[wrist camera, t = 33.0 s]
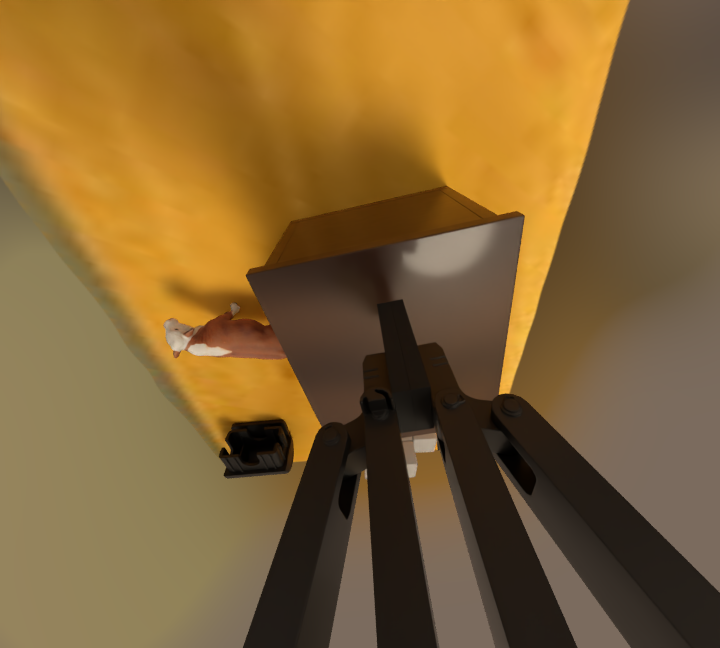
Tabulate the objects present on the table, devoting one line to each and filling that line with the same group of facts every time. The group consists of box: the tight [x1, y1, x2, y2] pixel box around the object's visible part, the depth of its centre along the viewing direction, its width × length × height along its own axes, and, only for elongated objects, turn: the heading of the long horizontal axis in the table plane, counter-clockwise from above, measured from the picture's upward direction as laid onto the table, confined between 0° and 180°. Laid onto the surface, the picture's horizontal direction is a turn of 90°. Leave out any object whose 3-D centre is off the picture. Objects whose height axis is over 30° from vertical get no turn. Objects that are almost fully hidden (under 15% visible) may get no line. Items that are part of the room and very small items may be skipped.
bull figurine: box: [164, 303, 287, 359], centre depth 32 cm, size 4×13×8 cm, turn 77°
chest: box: [264, 186, 497, 266], centre depth 28 cm, size 19×16×13 cm
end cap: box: [219, 420, 294, 478], centre depth 46 cm, size 10×7×7 cm
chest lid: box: [246, 211, 525, 438], centre depth 22 cm, size 20×16×1 cm
